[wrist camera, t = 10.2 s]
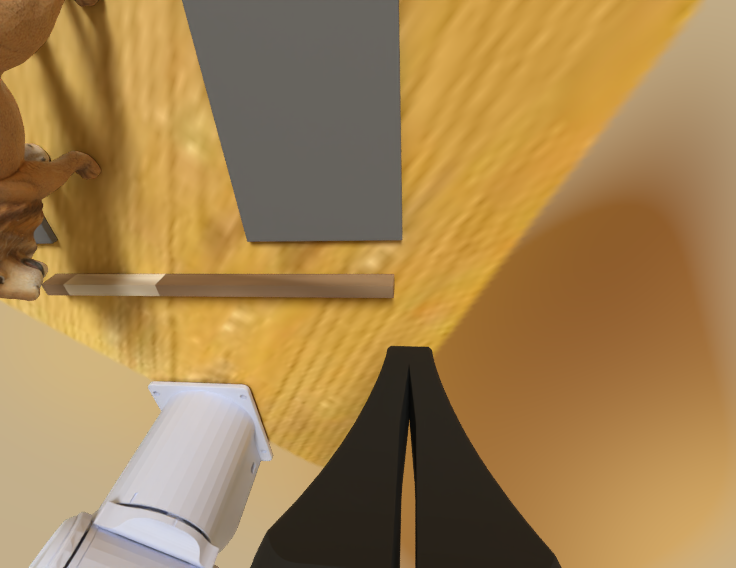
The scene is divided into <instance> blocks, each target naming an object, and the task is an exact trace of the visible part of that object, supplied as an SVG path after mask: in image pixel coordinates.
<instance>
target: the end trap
mask: <svg viewBox="0 0 736 568" xmlns="http://www.w3.org/2000/svg"><path fill="white" fill-rule="evenodd" d="M34 239H35V242H36V244H39V243H54V242H56V241H57V238H56V236H55V235H54V233H53V231H52V230H51V228H50V226H49V224H48V223H47V221H46V219H45V218H43V221H42V223H41V224H40V225H39V226H38V227H37V228H36V230H35V231H34Z"/></svg>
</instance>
